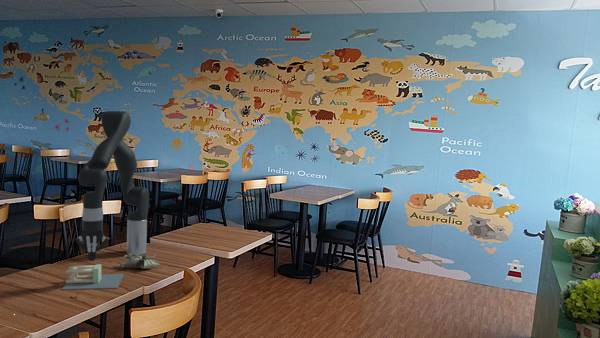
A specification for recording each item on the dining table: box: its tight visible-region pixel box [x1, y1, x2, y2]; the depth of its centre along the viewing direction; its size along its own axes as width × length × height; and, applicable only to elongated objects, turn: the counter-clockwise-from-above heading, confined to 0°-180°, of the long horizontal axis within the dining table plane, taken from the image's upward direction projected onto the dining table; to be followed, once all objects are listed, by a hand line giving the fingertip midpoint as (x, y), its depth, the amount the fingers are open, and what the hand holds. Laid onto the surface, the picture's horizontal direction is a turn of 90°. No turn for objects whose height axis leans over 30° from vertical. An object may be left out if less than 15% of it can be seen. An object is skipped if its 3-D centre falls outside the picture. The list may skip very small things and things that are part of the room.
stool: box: [65, 263, 102, 285], centre depth 180 cm, size 6×6×12 cm
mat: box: [61, 273, 125, 291], centre depth 181 cm, size 16×20×1 cm
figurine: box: [119, 253, 163, 270], centre depth 202 cm, size 20×6×17 cm
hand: (92, 260), depth 180 cm, fingers closed
